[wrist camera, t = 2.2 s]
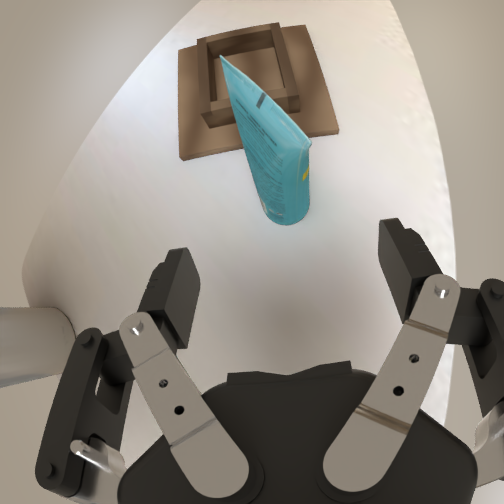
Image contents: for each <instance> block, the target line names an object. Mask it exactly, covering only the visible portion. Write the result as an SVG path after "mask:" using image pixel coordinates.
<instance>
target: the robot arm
mask: <svg viewBox="0 0 504 504" xmlns="http://www.w3.org/2000/svg"><path fill="white" fill-rule="evenodd" d="M378 257H379V262H380V265H381V268H382V270H383V273H384V275H385V278H386V281H387V283H388V286H389V288H390V291H391V294H392V296H393V299H394V302H395V304H396V307H397V310H398V313H399V315H400V318H401V321H402V324H404V325H403V327H402V329H401V331H400V333H399V335H398V337H397V339H396V341H395V343H394V345H393V347H392V349H391V351H390V353H389V355H388V356H387V358H386V360H385V362H384V364H383V366H382V368H381V369H380V371H379V373H378V375H375V374H372V373H370V372H366V371H362V370H357V369H352V367H351V362H350V361H344V362H337V363H330V364H323V365H318V366H315V367H313V368H310V369H307V370H304V371H301V372H298V373H295V374H292V375H280V374H272V373H265V372H259V371H254V372H238V373H228V375H227V382H224V383H222V384H219V385H217V386H215V387H213V388H211V389H209V390H208V391H206V392H205V393H204V394H201V392H200V391H199V390H198V388H197V387H196V385H195V384H194V382H193V381H192V379H191V378H190V376H189V375H188V373H187V372H186V370H185V369H184V367H183V366H182V364H181V363H180V361H179V360H178V358H177V357H176V353H177V349H187V347H188V342H189V337H190V332H191V328H192V323H193V318H194V314H195V309H196V305H197V300H198V296H199V291H200V277H199V274H198V271H197V269H196V266H195V264H194V261H193V259H192V256H191V254H190V251H189V250H188V248H186V247H185V248H178V249H172V250H169V252H168V254H167V257H166V259H165V262H163V263H160V264H159V265H158V266H157V267H156V268H155V269H154V271H153V272H152V275H151V277H150V280H149V281H150V282H148V285H147V289H146V290H145V292H144V295H143V297H142V300H141V303H140V305H139V308H138V310H137V313H134V314H132V315H130V316H128V317H127V318H126V319H125V320H124V321H123V322H122V324H121V326H120V329H119V330H117V331H114V332H111V333H108V334H105V335H103V334H102V333H101V331H100V330H99V329H97V328H88V329H86V330H84V331H83V332H81V333H80V334H79V335H78V337H77V338H76V339H75V334H74V331H73V328H72V326H71V324H70V322H69V320H68V319H67V317H66V316H65V315H64V314H63V313H62V312H61V311H60V310H58V309H56V308H52V307H49V308H3V307H0V388H3V387H7V386H11V385H15V384H19V383H24V382H28V381H32V380H36V379H40V378H44V377H48V376H52V375H56V374H60V373H63V374H62V377H61V379H60V382H59V385H58V389H57V391H56V395H55V397H54V400H53V404H52V407H51V410H50V413H49V417H48V420H47V424H46V427H45V431H44V434H43V438H42V442H41V446H40V450H39V454H38V458H37V462H36V467H35V475H36V479H37V481H38V483H39V485H40V486H41V487H43V488H44V489H47V490H49V491H51V492H54V493H56V494H58V495H59V496H61V497H63V498H66V499H69V500H71V501H74V502H77V503H79V504H470V503H471V500H472V497H473V494H474V491H475V488H478V487H480V486H483V485H486V484H488V483H491V482H493V481H496V480H498V479H499V480H502V481H504V282H503V281H501V280H498V279H487V280H485V281H484V282H483V283H482V284H481V287H480V289H470V288H462V287H460V286H459V284H458V283H457V281H456V280H455V279H453V278H452V277H450V276H447V275H444V274H443V273H442V271H441V269H440V268H439V266H438V264H437V262H436V261H435V259H434V257H433V256H432V254H431V252H429V249H428V247H427V246H426V245H425V242H424V241H423V239H422V238H421V236H420V235H419V234H418V233H417V232H415V231H414V230H412V229H411V228H409V229H405V228H404V227H403V225H402V224H401V222H400V220H399V219H398V218H391V219H384V220H380V222H379V241H378ZM445 344H458V345H462V347H463V350H464V353H465V356H466V359H467V362H468V365H469V368H470V372H471V375H472V378H473V382H474V386H475V389H476V393H477V396H478V400H479V404H480V408H481V412H482V416H483V419H482V420H481V421H480V422H479V424H478V425H477V428H476V431H475V446H474V450H473V452H472V451H471V450H470V448H469V447H468V446H467V445H466V444H465V443H463V442H462V441H461V440H460V439H458V438H457V437H456V436H454V435H453V434H452V433H451V432H449V431H448V430H447V429H446V428H444V427H443V426H442V425H440V424H439V423H438V422H437V421H435V420H434V419H433V418H432V417H430V416H429V415H428V414H427V413H425V412H424V411H423V410H421V409H420V406H421V404H422V402H423V400H424V397H425V395H426V393H427V391H428V388H429V386H430V384H431V381H432V379H433V376H434V374H435V371H436V369H437V366H438V364H439V361H440V358H441V356H442V353H443V350H444V347H445ZM99 377H100V378H101V380H100V384H99V387H98V391H97V395H95V389H96V385H97V382H98V378H99ZM135 379H136V381H137V383H138V385H139V387H140V389H141V391H142V393H143V395H144V398H145V400H146V402H147V404H148V405H149V407H150V409H151V411H152V413H153V415H154V417H155V419H156V421H157V423H158V425H159V426H160V428H161V430H162V432H163V435H162V436H161V437H160V438H159V439H158V440H157V441H156V442H155V443H154V444H153V445H152V446H151V447H150V448H149V449H148V450H147V451H146V452H145V453H144V454H143V455H142V456H141V457H140V458H139V459H138V460H137V461H136V462H134V463H133V464H132V465H131V466H130V467H129V468H128V469H127V468H126V467H125V461H124V458H123V456H122V455H121V453H120V446H121V440H122V435H123V429H124V424H125V419H126V413H127V408H128V404H129V399H130V394H131V389H132V385H133V380H135Z"/></svg>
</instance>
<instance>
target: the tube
mask: <svg viewBox="0 0 504 504" xmlns="http://www.w3.org/2000/svg"><path fill="white" fill-rule="evenodd" d="M220 59H221V62H222V67H223V72H224V77H225V81H226V85H227V90H228V94H229V98H230V101H231V105H232V109H233V113H234V116H235V120H236V123H237V127H238V130H239V134H240V137H241V140H242V144H243V147H244V150H245V153H246V156H247V160H248V163H249V166H250V169H251V173H252V176H253V179H254V182H255V185H256V188H257V191H258V195H259V198H260V201H261V204H262V207H263V209H264V212H265V213H266V215H267V216H268V218H269V219H271V220H272V221H273V222H275V223H277V224H281V225H291V224H294V223H297V222H298V221H300V220H301V219H302V218H303V217H304V216H305V215H306V213H307V211H308V209H309V148H310V146H311V144H312V142H311V141H310V139H309V138H308V137H307V136H306V135H305V134H304V132H303V131H302V130H301V129H300V128H299V127H298V125H297V124H296V123H295V122H294V121H293V120H292V119H291V118H290V117H289V116H288V115H287V114H286V113H285V112H284V111H283V110H282V108H281V107H279V106H278V105H277V104H276V103H275V102H274V101H273V100H272V99H271V98H270V97H269V96H268V95H267V94H266V93H265V92H264V91H263V90H262V89H261V88H260V87H259V86H258V85H256V84H255V82H253V81H252V80H251V79H250V78H249V77H248V76H246V75H245V74H244V73H242V72H241V71H240V70H239V69H237V68H236V67H234V66H233V65H232V64H230V63H229V62H228V61H227V60H226V59H225V58H224V57H223V56H221V55H220Z"/></svg>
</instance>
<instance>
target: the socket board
mask: <svg viewBox="0 0 504 504" xmlns="http://www.w3.org/2000/svg"><path fill="white" fill-rule="evenodd" d="M220 55H221V56H223V57H224V58H225V59H226V60H227V61H228V62H229V63H230V64H232V65H233V66H234V67H236V68H237V69H239V70H240V71H241V72H242V73H244V74H245V75H246V76H248V77H249V78H250V79H251V80H252V81H253V82H255V84H256V85H258V86H259V87H260V88H261V89H262V90H263V91H264V92H265V93H266V94H267V95H268V96H269V97H270V98H271V99H272V100H273V101H274V102H275V103H276V104H277V105H278V106H279V107H281V108H282V110H283V111H284V112H285V113H286V114H287V115H288V116H289V117H290V118H291V119H292V120H293V121H294V122H295V123H296V124H297V125H298V127H299V128H300V129H301V130H302V131H303V132H304V134H305V135H306V136H307V137H308V138H311V137H318V136H326V135H335V134H338V132H339V127H338V123H337V120H336V116H335V113H334V109H333V106H332V102H331V99H330V96H329V92H328V89H327V86H326V83H325V80H324V77H323V73H322V70H321V67H320V64H319V61H318V59H317V56H316V53H315V50H314V47H313V44H312V42H311V39H310V36H309V33H308V31H307V28H306V25H298V26H290V27H282V28H280V25H279V22H278V23H271V24H265V25H259V26H253V27H248V28H243V29H238V30H233V31H229V32H224V33H220V34H216V35H211V36H208V37H204V38H200V39H197V45H195V46H191V47H187V48H184V49H181V50H178V127H179V157H180V158H181V159H182V160H183V161H186V160H190V159H194V158H199V157H203V156H208V155H213V154H217V153H222V152H227V151H232V150H237V149H242V148H244V147H243V144H242V140H241V137H240V134H239V130H238V127H237V123H236V120H235V116H234V113H233V109H232V105H231V101H230V98H229V94H228V90H227V85H226V81H225V77H224V72H223V67H222V62H221V59H220Z"/></svg>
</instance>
